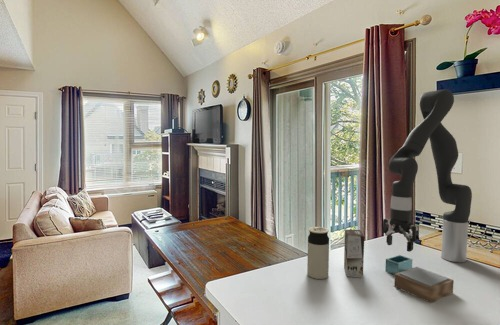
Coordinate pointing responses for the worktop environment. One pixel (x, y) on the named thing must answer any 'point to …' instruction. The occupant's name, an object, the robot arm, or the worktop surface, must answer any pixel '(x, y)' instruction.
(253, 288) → the worktop surface
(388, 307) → the worktop surface
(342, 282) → the worktop surface
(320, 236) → the travel mug
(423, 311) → the worktop surface
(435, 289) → the stand
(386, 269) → the box
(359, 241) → the coffee box
